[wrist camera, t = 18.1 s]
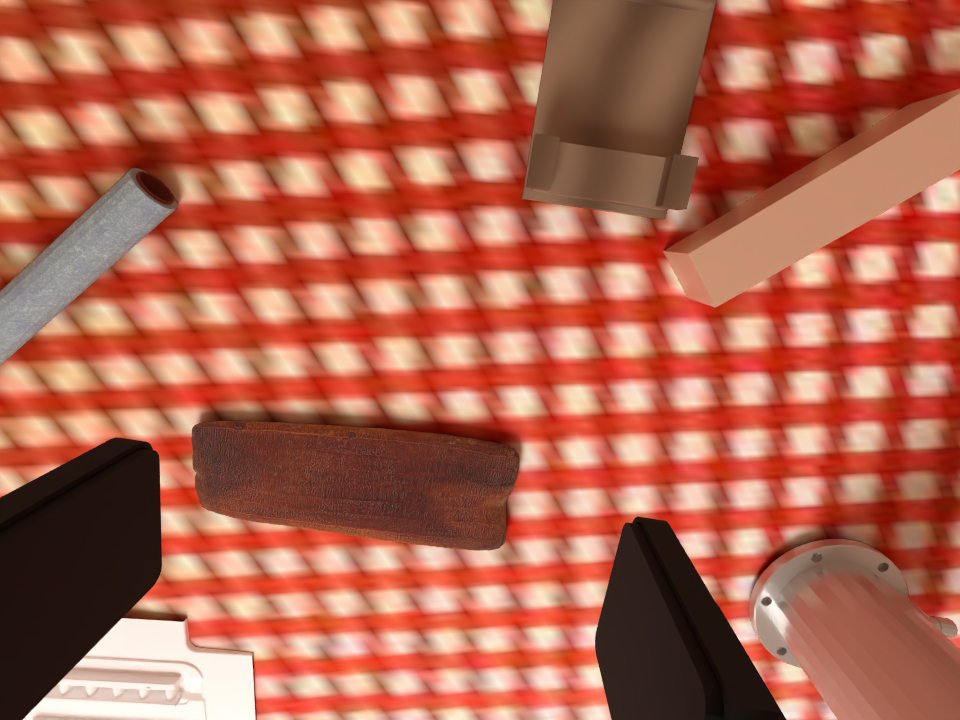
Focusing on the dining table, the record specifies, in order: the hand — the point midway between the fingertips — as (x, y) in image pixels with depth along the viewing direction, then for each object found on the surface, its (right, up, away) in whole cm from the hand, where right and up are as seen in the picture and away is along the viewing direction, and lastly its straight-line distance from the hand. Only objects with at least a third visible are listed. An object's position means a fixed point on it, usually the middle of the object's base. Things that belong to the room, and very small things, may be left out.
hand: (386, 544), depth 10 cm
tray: (-34, -29, +39) cm, 59 cm away
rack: (+11, +22, +23) cm, 34 cm away
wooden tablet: (-9, -11, +32) cm, 35 cm away
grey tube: (-29, +9, +28) cm, 41 cm away
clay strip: (+24, +15, +25) cm, 37 cm away
